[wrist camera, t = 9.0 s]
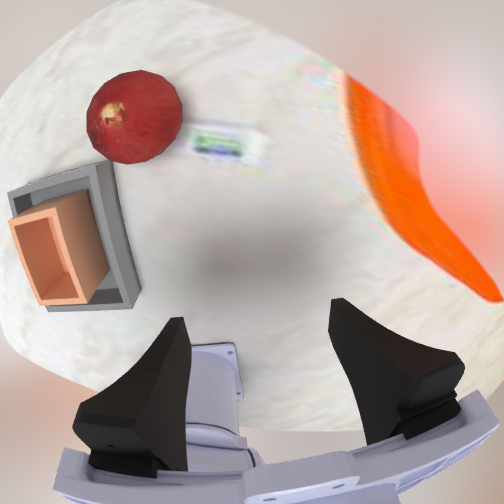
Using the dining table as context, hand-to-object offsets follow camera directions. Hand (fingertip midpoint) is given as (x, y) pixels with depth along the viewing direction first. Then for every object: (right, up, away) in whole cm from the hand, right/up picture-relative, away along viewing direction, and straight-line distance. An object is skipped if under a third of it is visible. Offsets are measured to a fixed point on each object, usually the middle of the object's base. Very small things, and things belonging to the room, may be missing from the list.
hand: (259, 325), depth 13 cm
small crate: (-15, +5, +7) cm, 17 cm away
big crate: (-15, +5, +7) cm, 17 cm away
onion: (-8, +13, +4) cm, 16 cm away
